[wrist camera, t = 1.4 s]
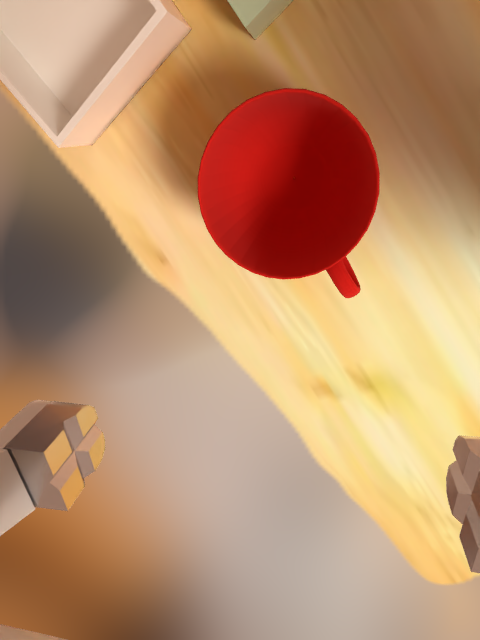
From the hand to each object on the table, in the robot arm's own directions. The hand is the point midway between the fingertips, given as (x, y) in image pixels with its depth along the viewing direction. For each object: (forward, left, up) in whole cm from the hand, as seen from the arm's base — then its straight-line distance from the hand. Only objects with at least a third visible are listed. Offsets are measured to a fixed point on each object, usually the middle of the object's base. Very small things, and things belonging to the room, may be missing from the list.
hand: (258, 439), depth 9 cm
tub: (+7, -25, -32) cm, 41 cm away
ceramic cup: (0, -1, -32) cm, 32 cm away
